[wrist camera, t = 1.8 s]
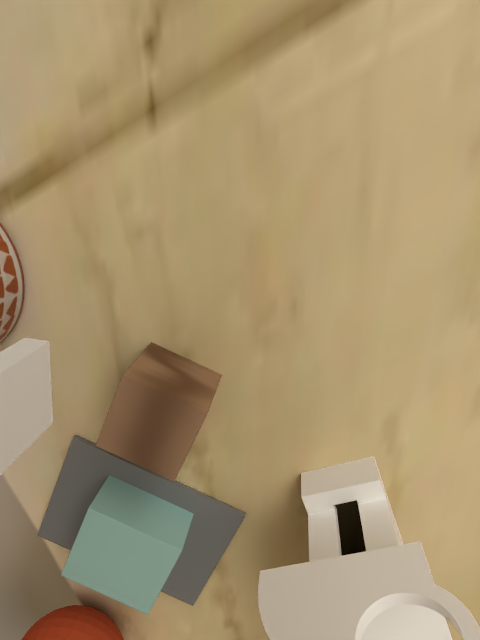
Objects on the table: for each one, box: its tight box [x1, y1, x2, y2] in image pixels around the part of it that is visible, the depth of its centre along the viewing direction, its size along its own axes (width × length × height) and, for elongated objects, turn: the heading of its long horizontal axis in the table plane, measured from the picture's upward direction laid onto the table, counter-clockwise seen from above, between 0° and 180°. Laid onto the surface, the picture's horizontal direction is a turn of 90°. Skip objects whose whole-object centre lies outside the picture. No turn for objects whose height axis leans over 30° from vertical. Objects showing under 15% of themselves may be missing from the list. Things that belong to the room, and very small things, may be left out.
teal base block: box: [61, 475, 194, 615], centre depth 38 cm, size 8×8×4 cm
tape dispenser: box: [258, 456, 480, 640], centre depth 29 cm, size 14×13×18 cm
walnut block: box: [96, 342, 222, 481], centre depth 33 cm, size 6×6×6 cm
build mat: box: [38, 435, 246, 606], centre depth 40 cm, size 16×12×1 cm
